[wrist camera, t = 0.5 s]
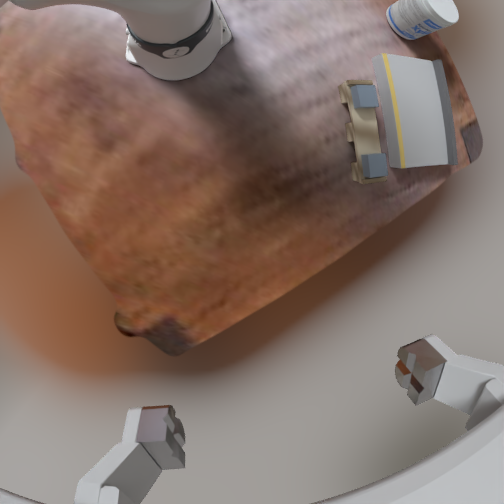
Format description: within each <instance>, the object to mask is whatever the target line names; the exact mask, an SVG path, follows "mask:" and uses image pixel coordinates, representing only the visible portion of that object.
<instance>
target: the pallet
mask: <svg viewBox="0 0 504 504" xmlns="http://www.w3.org/2000/svg"><path fill="white" fill-rule="evenodd" d="M355 85H373V82H372V80H347V81H345V82H344V84H342V85H339V86H338V88H339V93H340V98H341V103H348V107H349V112H350V118H351V123H346V124H345V127H346V133H347V140H348V142H352V141H354V144H355V152H356V159H357V162H351V170H352V178H353V181H358V182H359V183H361V184H370V183H377V182H384V181H387V179H386V177H384V176H380V177H372V178H369V177H364V175H363V166H362V158H361V155H363V154H373V153H381V149H380V141H379V134H378V127H377V120H376V114H375V108H356V109H354V105H353V100H352V94H351V89H350V87H353V86H355Z"/></svg>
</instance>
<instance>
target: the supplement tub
mask: <svg viewBox="0 0 504 504" xmlns="http://www.w3.org/2000/svg"><path fill="white" fill-rule="evenodd" d="M386 16H387V20H388V22H389V24H390V26H391V27H392V29H393V30H394V31H395V32H396V33H397V34H398V35H400V36H401V37H403V38H405V39H409V40H414V39H417V38H420V37H422V36H424V35H427V34H429V33H432V32H434V31H437V30H439V29H442V28H445V27H448V26H450V25H452V24H454V23H456V22H457V21H458V18H459V15H458V11H457V8H456V6H455V4H454V2H453V1H452V0H399V1H397V2H396V3H394V4H392V5H391V6H390V7H389V8H388V9H387V12H386Z"/></svg>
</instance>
